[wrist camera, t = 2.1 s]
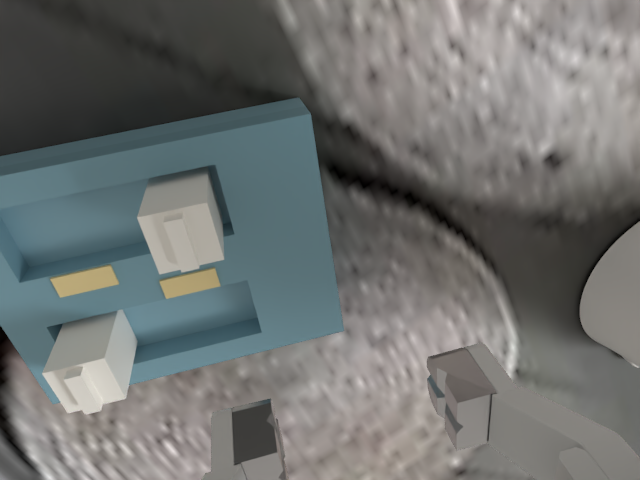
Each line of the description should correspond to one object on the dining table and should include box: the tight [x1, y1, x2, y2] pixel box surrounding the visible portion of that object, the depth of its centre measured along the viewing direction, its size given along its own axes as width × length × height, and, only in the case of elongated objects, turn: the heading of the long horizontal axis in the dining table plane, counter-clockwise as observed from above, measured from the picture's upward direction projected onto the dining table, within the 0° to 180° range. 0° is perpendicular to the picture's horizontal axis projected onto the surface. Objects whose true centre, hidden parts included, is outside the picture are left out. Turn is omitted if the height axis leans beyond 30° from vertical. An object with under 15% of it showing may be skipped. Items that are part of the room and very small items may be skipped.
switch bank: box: [0, 97, 344, 404], centre depth 26 cm, size 18×14×4 cm
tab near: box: [137, 166, 224, 274], centre depth 22 cm, size 3×3×5 cm
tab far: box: [42, 309, 138, 415], centre depth 25 cm, size 3×3×5 cm
